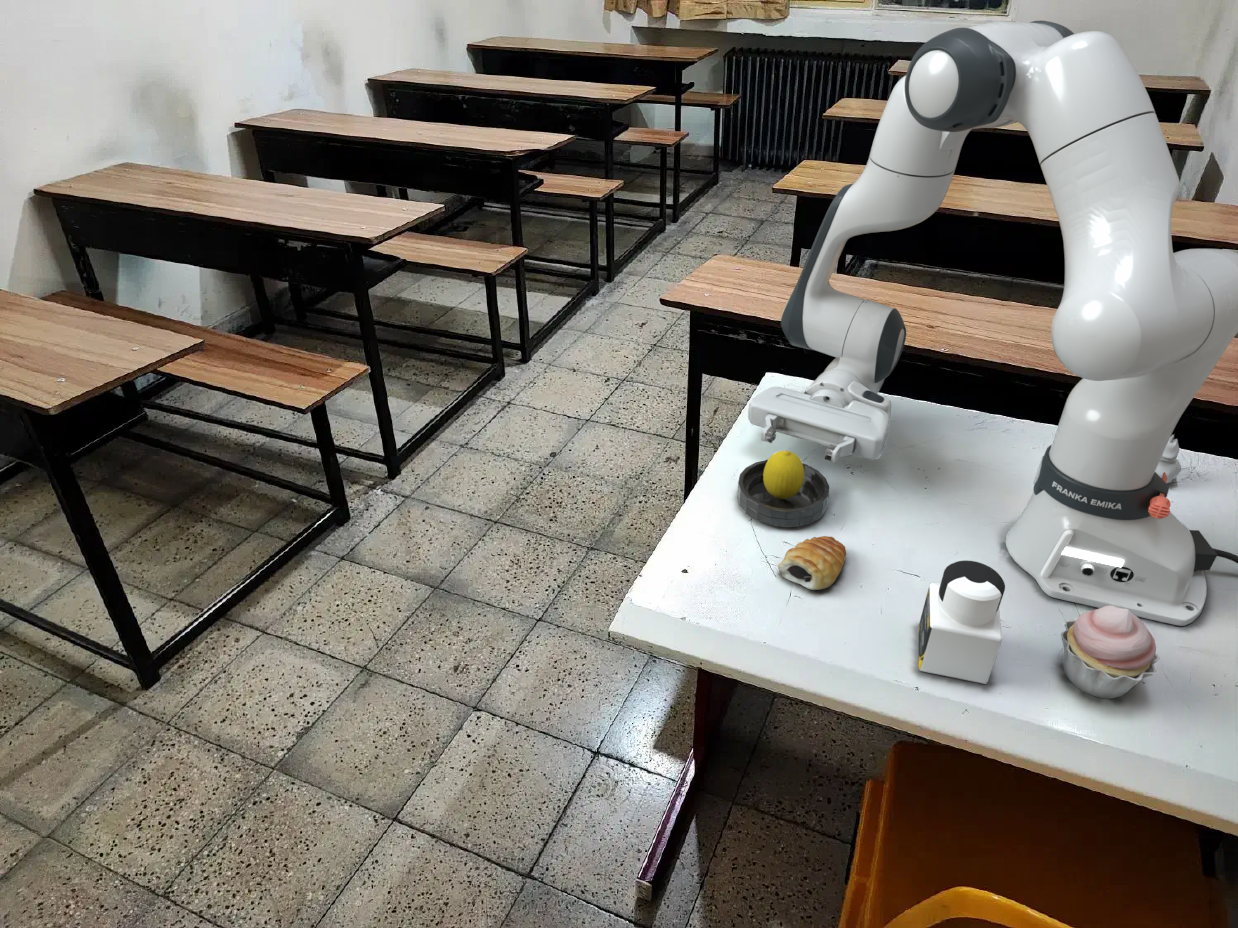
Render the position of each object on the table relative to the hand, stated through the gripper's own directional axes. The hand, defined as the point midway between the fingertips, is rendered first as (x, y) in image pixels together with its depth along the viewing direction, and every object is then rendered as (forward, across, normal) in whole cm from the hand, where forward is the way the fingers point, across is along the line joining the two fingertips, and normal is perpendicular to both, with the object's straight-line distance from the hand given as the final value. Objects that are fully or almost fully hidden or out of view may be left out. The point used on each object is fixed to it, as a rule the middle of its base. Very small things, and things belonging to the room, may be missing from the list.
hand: (797, 447), depth 114 cm
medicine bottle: (+21, +28, +7) cm, 35 cm away
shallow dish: (+4, 0, +7) cm, 8 cm away
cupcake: (+16, +42, +7) cm, 45 cm away
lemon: (+4, 0, +7) cm, 8 cm away
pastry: (+15, +9, +7) cm, 19 cm away
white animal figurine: (-29, +44, +7) cm, 53 cm away
